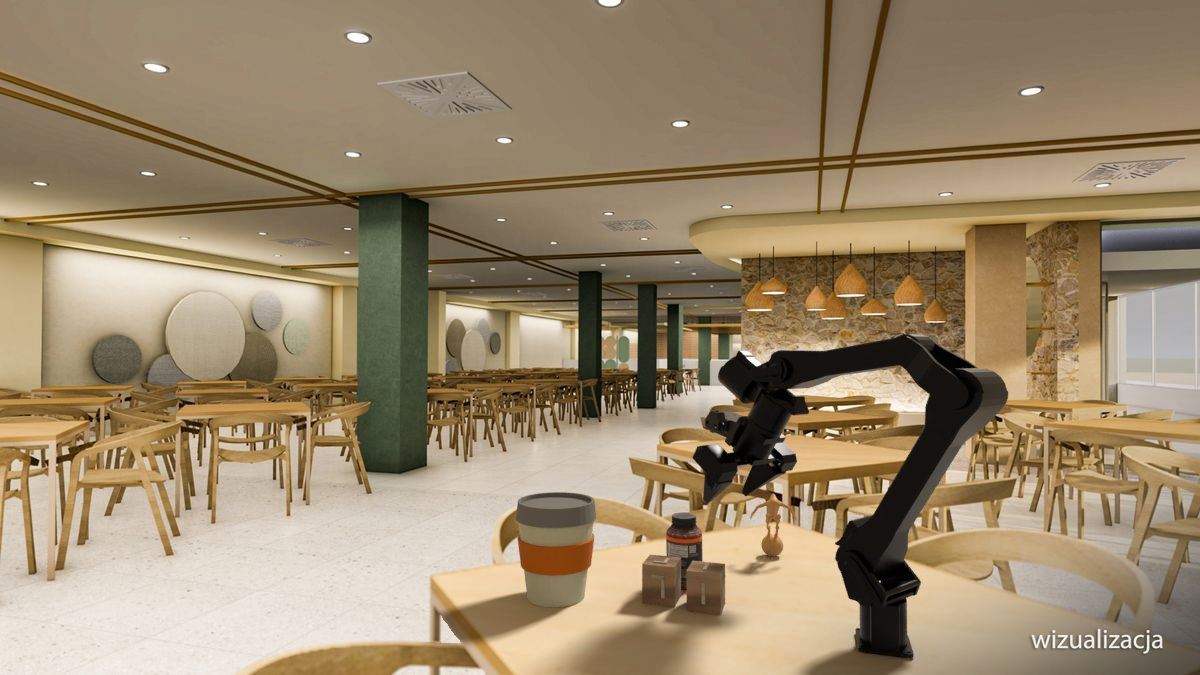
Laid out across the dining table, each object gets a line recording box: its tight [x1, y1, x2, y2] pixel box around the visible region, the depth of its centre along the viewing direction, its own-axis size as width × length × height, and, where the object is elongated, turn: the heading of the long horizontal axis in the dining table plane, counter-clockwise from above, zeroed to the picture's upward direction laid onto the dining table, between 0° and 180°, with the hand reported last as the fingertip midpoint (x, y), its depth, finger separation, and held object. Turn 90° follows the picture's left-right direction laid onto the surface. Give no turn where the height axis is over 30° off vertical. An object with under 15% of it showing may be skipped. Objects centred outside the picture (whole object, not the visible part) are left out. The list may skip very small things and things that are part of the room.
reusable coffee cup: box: [515, 491, 597, 608], centre depth 104 cm, size 13×13×15 cm
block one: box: [686, 561, 726, 616], centre depth 100 cm, size 5×5×6 cm
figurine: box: [749, 493, 797, 557], centre depth 124 cm, size 8×6×12 cm
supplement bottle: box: [665, 511, 704, 590], centre depth 110 cm, size 6×6×11 cm
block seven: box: [641, 554, 682, 608], centre depth 103 cm, size 5×5×6 cm
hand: (725, 497), depth 109 cm, fingers open, 9 cm apart
